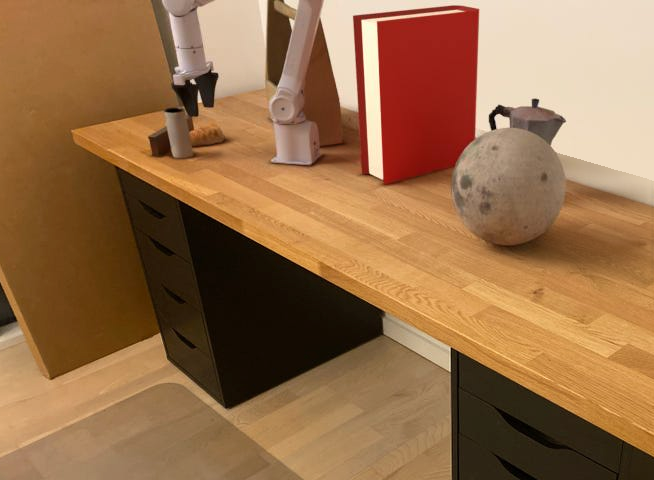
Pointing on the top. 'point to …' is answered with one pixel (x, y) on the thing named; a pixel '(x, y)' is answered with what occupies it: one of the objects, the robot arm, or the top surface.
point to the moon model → (508, 186)
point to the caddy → (319, 75)
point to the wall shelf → (164, 139)
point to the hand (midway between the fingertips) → (201, 111)
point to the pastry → (206, 135)
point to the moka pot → (530, 119)
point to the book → (415, 89)
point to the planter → (178, 132)
